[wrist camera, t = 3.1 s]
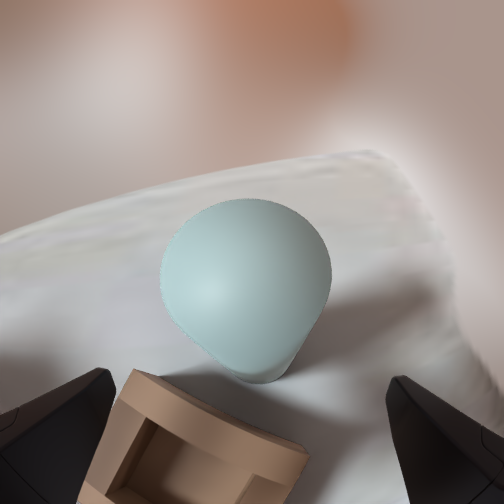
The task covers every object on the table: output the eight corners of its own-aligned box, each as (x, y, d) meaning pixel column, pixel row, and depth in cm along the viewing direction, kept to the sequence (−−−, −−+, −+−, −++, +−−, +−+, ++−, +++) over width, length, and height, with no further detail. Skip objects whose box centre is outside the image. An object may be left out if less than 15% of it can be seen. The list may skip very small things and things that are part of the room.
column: (303, 334, 19) (351, 230, 8) (275, 395, 17) (290, 386, 6) (242, 308, 20) (212, 182, 9) (212, 366, 18) (129, 304, 7)
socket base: (301, 445, 15) (310, 456, 12) (230, 556, 11) (222, 582, 7) (157, 376, 18) (133, 368, 14) (100, 484, 13) (70, 494, 10)
